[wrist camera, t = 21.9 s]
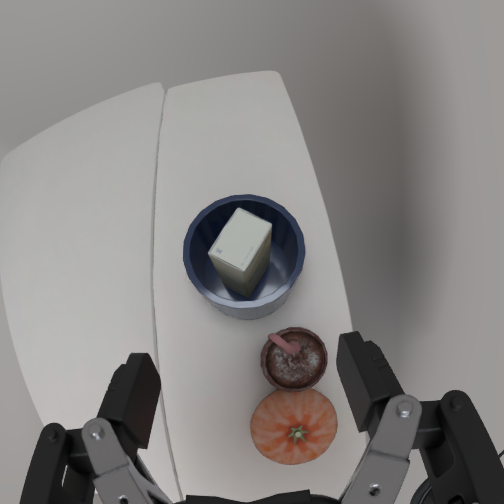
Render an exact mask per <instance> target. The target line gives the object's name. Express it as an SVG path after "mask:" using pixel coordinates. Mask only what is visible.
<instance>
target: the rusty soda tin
mask: <svg viewBox="0 0 504 504" xmlns="http://www.w3.org/2000/svg"><path fill="white" fill-rule="evenodd" d="M268 338H269V340H268V341H267V343H266V344H265V345H264V347H263V350H262V352H261V367H262V370H263V373H264V376H265V377H266V379H267V380H268V381H269V383H270V384H272V385H273V386H275V387H276V388H278V389H279V390H283V391H286V392H301V391H304V390H306V389H309V388H311V387H312V386H314V385H315V384H316V383H317V382H319V380H320V379H321V377H322V376H323V375H324V373H325V370H326V367H327V351H326V348H325V345H324V343H323V342H322V340H321V339H320V338H319V336H317V335H316V334H315V333H313V332H312V331H310V330H307V329H304V328H301V327H289V328H286V329H283V330H280V331H279V332H277V333H276V334H270V335H268Z"/></svg>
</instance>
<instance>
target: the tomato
mask: <svg viewBox="0 0 504 504" xmlns="http://www.w3.org/2000/svg"><path fill="white" fill-rule="evenodd" d="M337 426H338V423H337V415H336V412H335V409H334V407H333V405H332V403H331V402H330V401H329V400H328V399H327V398H326V397H325V396H324V395H322V394H321V393H319V392H317V391H315V390H313V389H310V388H309V389H306V390H304V391H301V392H286V391H283V390H278V391H275V392H273V393H271V394H270V395H268V396H267V397H266V398H265V399H264V400H263V401H262V402H261V403H260V404H259V405H258V407H257V408H256V410H255V412H254V414H253V416H252V419H251V424H250V429H251V436H252V439H253V442H254V444H255V446H256V448H257V449H258V451H259V452H260V453H261V454H263V455H264V456H265V457H267V458H269V459H270V460H272V461H275V462H278V463H281V464H285V465H295V464H301V463H305V462H308V461H311V460H313V459H316V458H317V457H319V456H320V455H321V454H322V453H324V452H325V451H326V450H327V449H328V447H329V446H330V445H331V443H332V441H333V440H334V438H335V435H336V432H337Z"/></svg>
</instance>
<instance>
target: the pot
mask: <svg viewBox="0 0 504 504" xmlns="http://www.w3.org/2000/svg"><path fill="white" fill-rule="evenodd" d="M237 208H241V209H243V210H245V211H247V212H249V213H251V214H253V215H255V216H257V217H259V218H261V219H263V220H265V221H267V222H269V223H271V224H272V233H271V249H270V262H269V265H268V267H267V269H266V271H265V272H264V274H263V276H262V278H261V279H260V281H259V283H258V284H257V286H256V288H255V289H254V291H253V293H252V294H251V296H250V298H246V297H244V296H242V295H240V294H238V293H236V292H235V291H233V290H231V289H229V288H228V287H226V286H224V285H223V283H222V281H221V279H220V277H219V275H218V273H217V271H216V269H215V267H214V265H213V262H212V260H211V258H210V256H209V254H208V252H209V250H210V249H211V247H212V246H213V244H214V242H215V241H216V239H217V238H218V236H219V235H220V233H221V231H222V230H223V228H224V227H225V225H226V224H227V222H228V221H229V220H230V218H231V217H232V215H233V214H234V212H235V211H236V210H237ZM304 258H305V244H304V237H303V233H302V231H301V229H300V227H299V225H298V223H297V221H296V219H295V218H294V217H293V216H292V215H291V214H290V213H289V212H288V211H287V210H286V209H285V208H284V207H283V206H281V205H280V204H278V203H276V202H274V201H272V200H270V199H268V198H265V197H261V196H256V195H251V194H246V195H233V196H229V197H226V198H223V199H220V200H217V201H215V202H213V203H212V204H211V205H209V206H208V207H206V208H205V209H203V210H202V211H201V212H200V213H199V214H198V216H197V217H196V218H195V219H194V221H193V222H192V223H191V224H190V226H189V229H188V231H187V234H186V237H185V239H184V245H183V262H184V265H185V268H186V272H187V275H188V277H189V279H190V280H191V282H192V283H193V284H194V286H195V287H196V288H197V290H198V291H199V292H200V293H201V294H202V295H203V296H204V298H205V299H206V300H207V301H208V302H209V303H210V304H211V305H212V306H213V307H214V308H216V309H217V310H219V311H220V312H222V313H223V314H225V315H227V316H230V317H233V318H237V319H242V320H252V319H258V318H261V317H265V316H267V315H269V314H271V313H273V312H274V311H276V310H277V309H278V308H279V307H280V306H281V305H283V304H284V303H285V301H286V299H287V298H288V296H289V295H290V293H291V291H292V289H293V287H294V285H295V283H296V281H297V279H298V277H299V275H300V273H301V271H302V267H303V262H304Z"/></svg>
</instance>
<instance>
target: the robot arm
mask: <svg viewBox="0 0 504 504" xmlns="http://www.w3.org/2000/svg"><path fill="white" fill-rule="evenodd" d="M336 365H337V371H338V374H339V377H340V380H341V382H342V385H343V388H344V391H345V393H346V396H347V399H348V402H349V405H350V408H351V410H352V413H353V416H354V419H355V422H356V425H357V428H358V431H359V433H360V432H364V431H368V434H369V437H370V440H369V443H368V445H367V447H366V449H365V451H364V453H363V456H362V458H361V460H360V462H359V464H358V466H357V468H356V470H355V471H354V473H353V475H352V477H351V479H350V480H349V482H348V484H347V485H346V487H345V489H344V490H343V492H342V494H341V496H340V497H339V499H338V500H337V499H334V498H331V497H328V496H324V495H316V494H310V490H309V489H308V490H302V491H296V492H289V493H280V494H276V495H273V496H270V497H266V498H263V499H260V500H256V501H252V502H239V501H234V500H229V499H224V498H220V497H216V496H194V495H186V500H185V501H180V502H176V503H174V504H394V502H395V500H396V498H397V495H398V493H399V491H400V489H401V486H402V484H403V481H404V479H405V476H406V473H407V471H408V468H409V464H410V460H408V458H409V454H410V451H411V449H419V451H420V453H421V456H422V460H423V463H424V466H425V469H426V471H427V475H428V478H429V481H430V484H431V485H430V486H429V487H428V488H427V490H426V491H425V492H424V494H423V495H422V497H421V499H420V501H419V504H504V468H503V465H502V463H501V461H500V457H501V456H502V455H503V454H504V450H503V451H502V452H501V453H500V454H499V455H498V454H497V451H496V449H495V447H494V445H493V443H492V441H491V438H490V436H489V434H488V432H487V430H486V428H485V426H484V424H483V422H482V420H481V418H480V416H479V414H478V412H477V410H476V409H475V407H474V405H473V403H472V401H471V399H470V398H469V396H468V395H467V394H466V393H464V392H462V391H459V390H452V391H449V392H447V393H446V394H445V395H444V396H443V398H442V399H441V400H437V401H423V402H422V401H418V400H417V399H416V398H415V397H413V396H411V395H407V394H405V393H404V391H403V389H402V388H401V386H400V384H399V382H398V380H397V379H396V376H395V374H394V373H393V371H392V369H391V367H390V366H389V363H388V362H387V360H386V358H385V357H384V354H383V353H382V351H381V349H380V347H378V346H377V345H376V344H375V343H373V342H372V341H366V342H364V341H363V339H362V337H361V335H360V333H359V332H358V331H355V332H349V333H344V334H340V336H339V343H338V351H337V358H336ZM160 390H161V379H160V376H159V374H158V372H157V370H156V368H155V365H154V363H153V361H152V359H151V357H150V355H149V354H148V353H131V354H130V355H129V357H128V360H127V362H126V364H121V365H120V367H119V368H118V369H117V370H116V371H115V372H114V374H113V377H112V379H111V383H110V384H109V386H108V391H106V394H105V396H104V399H103V401H102V404H101V407H100V409H99V412H98V415H97V417H96V418H94V419H91V420H89V421H88V422H87V423H86V424H85V425H84V426H83V428H81V429H72V430H66V429H65V428H64V427H63V426H62V425H60V424H58V423H50V424H48V425H46V426H45V427H44V428H43V430H42V432H41V434H40V437H39V440H38V442H37V445H36V448H35V451H34V454H33V457H32V460H31V463H30V466H29V470H28V473H27V476H26V480H25V484H24V487H23V491H22V495H21V499H20V504H93V497H94V492H95V488H96V490H97V492H98V494H99V496H100V499H101V501H102V502H103V504H173V503H172V501H171V500H170V499H169V498H168V497H167V495H166V494H165V493H164V492H163V491H162V490H161V489H160V488H159V486H158V485H157V483H156V482H155V480H154V479H153V477H152V476H151V474H150V473H149V471H148V469H147V468H146V466H145V464H144V463H143V461H142V459H141V457H140V456H139V454H138V453H137V450H138V448H141V449H147V448H148V443H149V438H150V433H151V429H152V424H153V420H154V415H155V411H156V407H157V402H158V398H159V394H160ZM66 465H67V466H68V467H67V471H66V475H65V479H64V483H63V487H62V479H63V475H64V471H65V467H66Z"/></svg>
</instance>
